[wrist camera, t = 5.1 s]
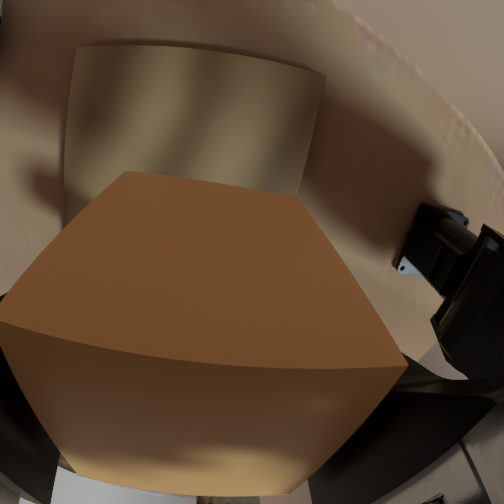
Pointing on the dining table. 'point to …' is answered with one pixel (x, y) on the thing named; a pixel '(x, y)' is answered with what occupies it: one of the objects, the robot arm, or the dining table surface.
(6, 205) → the dining table surface
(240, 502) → the coffee box
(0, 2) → the robot toy
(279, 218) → the orange rectangular block
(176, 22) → the dining table surface
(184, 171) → the base board
